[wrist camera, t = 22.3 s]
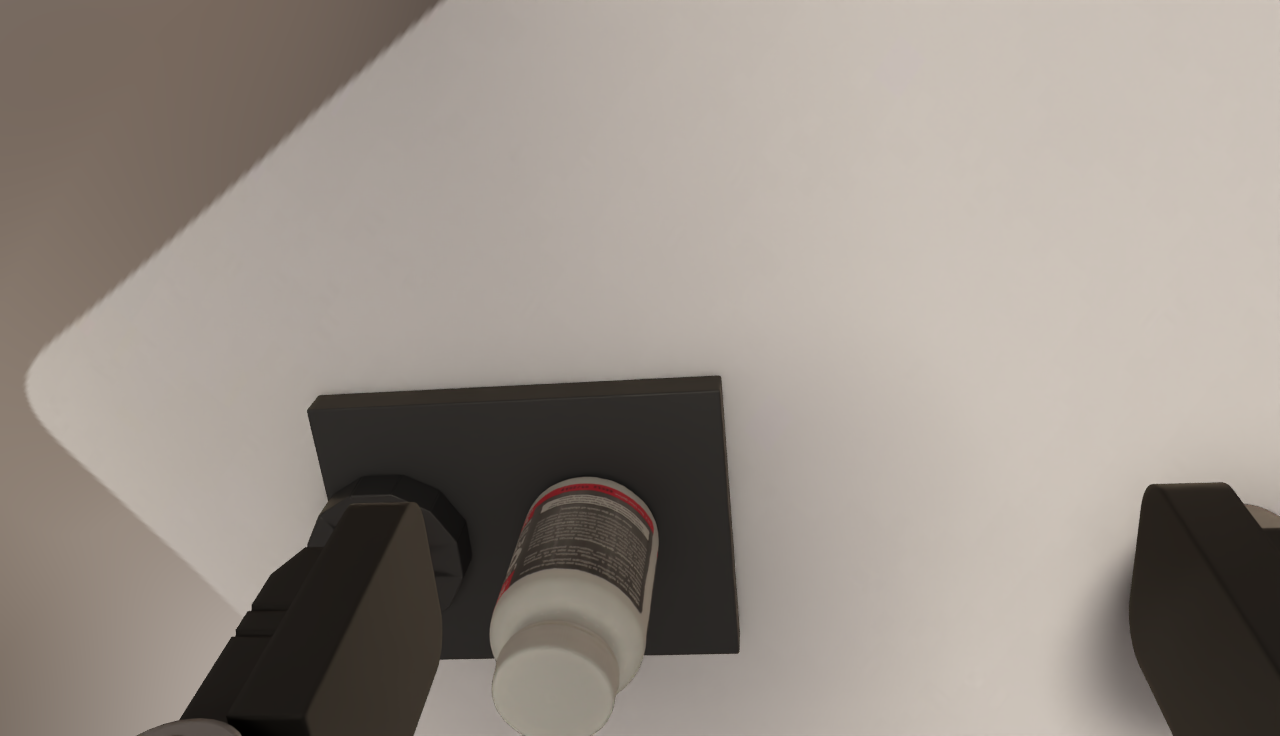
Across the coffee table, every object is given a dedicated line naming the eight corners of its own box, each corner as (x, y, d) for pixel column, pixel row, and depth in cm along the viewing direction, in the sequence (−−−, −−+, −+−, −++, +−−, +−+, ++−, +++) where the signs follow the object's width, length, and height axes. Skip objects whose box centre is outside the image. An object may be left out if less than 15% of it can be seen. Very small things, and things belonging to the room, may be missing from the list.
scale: (362, 641, 50) (340, 686, 47) (305, 395, 45) (276, 429, 43) (739, 633, 48) (739, 679, 45) (721, 374, 43) (719, 409, 41)
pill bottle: (507, 486, 45) (446, 643, 36) (639, 460, 44) (610, 614, 35) (548, 599, 47) (500, 773, 38) (675, 576, 46) (656, 750, 37)
